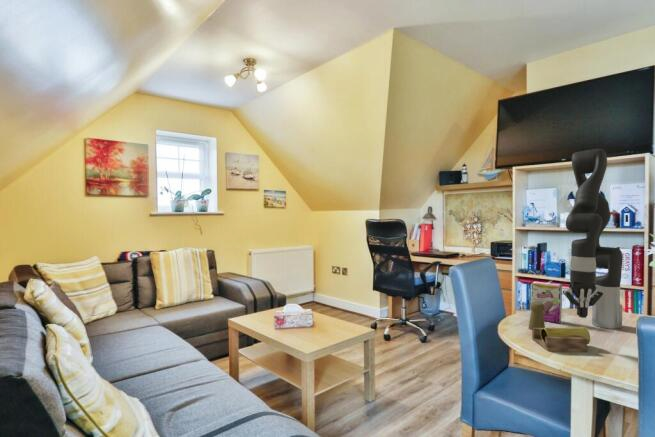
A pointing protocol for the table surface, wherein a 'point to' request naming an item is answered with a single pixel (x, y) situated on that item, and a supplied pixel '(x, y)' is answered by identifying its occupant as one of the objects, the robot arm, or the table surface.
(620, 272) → the robot arm
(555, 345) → the u rest
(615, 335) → the table surface
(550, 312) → the candy bar box
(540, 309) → the cork
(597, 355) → the table surface
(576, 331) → the vase
